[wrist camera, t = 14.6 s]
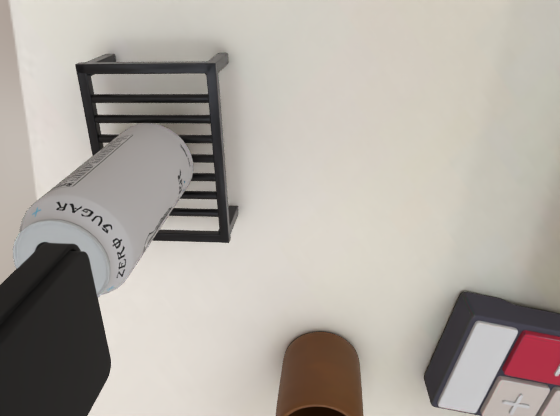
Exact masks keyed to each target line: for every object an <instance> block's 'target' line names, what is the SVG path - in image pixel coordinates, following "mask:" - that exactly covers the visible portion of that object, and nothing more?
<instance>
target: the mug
mask: <svg viewBox="0 0 560 416" xmlns="http://www.w3.org/2000/svg"><path fill="white" fill-rule="evenodd" d="M276 416H363V403H362V387H361V375H360V364H359V358H358V355H357V353H356V351H355V349H354V348H353V346H352V345H351V344H350V343H349V342H347V341H346V340H345V339H343V338H342V337H340V336H338V335H335V334H333V333H328V332H312V333H307V334H304V335H302V336H300V337H298V338H297V339H296V340H294V341H293V342H292V343H291V344H290V345H289V347H288V348H287V350H286V353H285V355H284V359H283V365H282V373H281V379H280V386H279V394H278V401H277V409H276Z"/></svg>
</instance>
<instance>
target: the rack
mask: <svg viewBox="0 0 560 416" xmlns="http://www.w3.org/2000/svg"><path fill="white" fill-rule="evenodd" d="M227 64H228V54H227V53H218V54H216V55H215V56H214V57H213V58H211V59H210V60H209V61H208V62H116V60H115V54H105V55H102V56H100V57H97V58H95V59H92V60H90V61H88V62H84V63H77V64H76V71H77V75H78V81H79V86H80V91H81V96H82V102H83V107H84V112H85V117H86V123H87V128H88V133H89V138H90V144H91V149H92V154H93V156H94V155H95V154H96V153H97V152H99V151H100V150H101V149H102V148H104V147H103V143H110V142H111V141H112V140H113V139H115V138H116V137H117V136H118V135H108V134H101V131H100V125H99V123H209V124H210V123H211V133H212V135H178V136H179V137H180V138H181V139H182V140H183V141H184V142H185V143H212V145H213V155H206V154H191V156H192V160H193V162H199V163H214V169H215V173H193V175H192V179H191V181H216V191H184V193H183V194H182V196H181V197H180V199H217V205H218V209H190V208H173V209H172V211H171V212H170V214H169V216H207V217H219V231H190V230H159V231H158V232H157V234H156V235H155V237H154V238H153V240H154V241H191V242H222V243H229V241H230V239H231V237H230V234H231V232H232V229H233V226H234V224H235V221H236V219H237V216H238V206H229V207H228V197H227V183H226V170H225V156H224V143H223V129H222V116H221V103H220V89H219V76H218V72H219V71H221V70H222V69H223V68H224V67H225V66H226V65H227ZM181 73H205V75H207V86H208V94H94V92H93V86H92V81H91V76H92V75H94V74H181ZM96 103H209V110H210V115H98V114H97V108H96Z"/></svg>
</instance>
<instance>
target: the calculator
mask: <svg viewBox="0 0 560 416" xmlns="http://www.w3.org/2000/svg"><path fill="white" fill-rule="evenodd" d="M424 380H425V384H426V387H427V391H428V395H429V398H430V402H431V405H432V406H434V407H438V408H443V409H448V410H454V411H459V412H464V413H470V414H475V415H480V416H560V314H558V313H553V312H548V311H542V310H537V309H532V308H527V307H522V306H518V305H513V304H511V303H509V302H507V301H505V300H503V299H500V298H495V297H490V296H485V295H480V294H475V293H470V292H462V293H461V294H460V296H459V298H458V301H457V303H456V305H455V307H454V310H453V312H452V314H451V316H450V319H449V321H448V323H447V325H446V328H445V330H444V332H443V335H442V337H441V339H440V341H439V344H438V346H437V348H436V350H435V353H434V355H433V357H432V359H431V362H430V364H429V366H428V369H427V371H426V373H425V375H424Z"/></svg>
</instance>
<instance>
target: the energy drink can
mask: <svg viewBox="0 0 560 416" xmlns="http://www.w3.org/2000/svg"><path fill="white" fill-rule="evenodd" d="M192 175H193V160H192V156H191V153H190V151H189V149H188V147H187V145H186V144H185V142H184V141H183V140H182V139H181V138H180V137H179V136H178V135H177V134H176V133H174V132H173V131H172V130H170V129H168V128H166V127H164V126H161V125H158V124H153V123H142V124H137V125H134V126H131V127H129V128H128V129H126V130H125V131H123V132H122V133H121V134H120V135H118V136H117V137H116V138H115V139H113V140H112V141H111V142H110V143H108V144H107V145H106V146H105V147H104V148H102V149H101V150H100V151H99V152H97V153H96V154H95V155H94V156H92V157H91V158H90V159H89V160H87V161H86V162H85V163H84V164H82V165H81V166H80V167H79V168H77V169H76V170H75V171H74V172H72V173H71V174H70V175H69V176H67V177H66V178H65V179H64V180H62V181H61V182H60V183H59V184H57V185H56V186H55V187H54V188H52V189H51V190H50V191H49V192H47V193H46V194H45V195H44V196H42V197H41V198H40V199H39V200H38V201H36V202H35V203H34V204H33V205H32V206H31V207H30V208H29V209H28V210H27V211H26V213H25V215H24V217H23V219H22V223H21V226H20V233H19V234H18V236H17V238H16V240H15V243H14V246H13V259H14V264H15V266H16V269H17V268H18V267H19V266H20V265H21V264H22V263H23V262H24V261H25V260H27V259H28V258H29V257H30V256H31V255H32V254H33V253H34V252H35V251H36V250H37V249H38V248H39V247H40V246H41V245H43V244H44V243H68V244H76V245H78V247H79V248H80V250H81V251H84V252H86V253H87V254H88V257H89V260H90V264H91V269H92V274H93V279H94V283H95V288H96V293H97V297H99V296H100V295H102V294H106V293H109V292H111V291H113V290H115V289H117V288H118V287H119V286H120V285H122V284H123V283H124V282H125V280H126V279H127V278H128V276H129V275H130V273H131V272H132V270H133V269H134V267H135V266H136V264H137V263H138V261H139V260H140V258H141V257H142V255H143V254H144V252H145V251H146V249H147V247H148V246H149V244H150V243H151V241H152V240H153V238H154V237H155V235H156V234H157V232H158V231H159V229H160V228H161V226H162V225H163V223H164V222H165V220H166V219H167V217H168V216H169V214H170V212H171V211H172V209H173V208H174V206H175V205H176V203H177V202H178V200H179V199H180V197H181V196H182V194H183V193H184V191H185V190H186V188H187V187H188V185H189V183H190V181H191V179H192Z"/></svg>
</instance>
